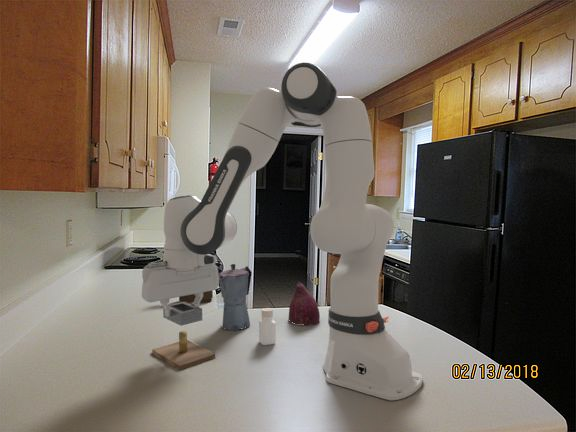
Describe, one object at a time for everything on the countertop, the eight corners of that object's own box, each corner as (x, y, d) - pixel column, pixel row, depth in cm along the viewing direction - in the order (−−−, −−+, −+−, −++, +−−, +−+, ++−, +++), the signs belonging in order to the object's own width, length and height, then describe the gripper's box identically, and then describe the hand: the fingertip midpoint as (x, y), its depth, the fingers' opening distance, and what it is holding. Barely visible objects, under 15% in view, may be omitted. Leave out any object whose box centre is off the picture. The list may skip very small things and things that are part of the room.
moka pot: (208, 330, 117) (208, 265, 116) (238, 317, 130) (237, 259, 130) (234, 335, 112) (233, 268, 112) (261, 321, 126) (261, 261, 125)
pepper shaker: (271, 339, 109) (271, 306, 109) (276, 344, 105) (276, 310, 105) (258, 341, 108) (258, 308, 107) (262, 346, 104) (262, 312, 104)
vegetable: (303, 337, 120) (298, 295, 116) (283, 324, 128) (277, 284, 123) (327, 322, 126) (323, 282, 122) (306, 311, 134) (302, 273, 130)
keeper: (215, 357, 97) (215, 334, 96) (179, 370, 90) (179, 344, 89) (186, 343, 106) (186, 321, 106) (152, 353, 99) (151, 330, 99)
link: (202, 320, 97) (202, 308, 97) (181, 325, 92) (180, 313, 92) (184, 312, 103) (184, 301, 103) (163, 317, 99) (163, 306, 99)
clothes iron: (173, 299, 155) (172, 266, 154) (212, 296, 158) (212, 264, 157) (171, 304, 147) (170, 269, 146) (213, 301, 150) (212, 268, 150)
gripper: (148, 265, 87) (149, 324, 88) (222, 256, 102) (222, 307, 103) (136, 262, 92) (137, 318, 93) (208, 253, 106) (209, 302, 107)
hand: (182, 312), depth 98 cm, fingers closed on link, 6 cm apart
